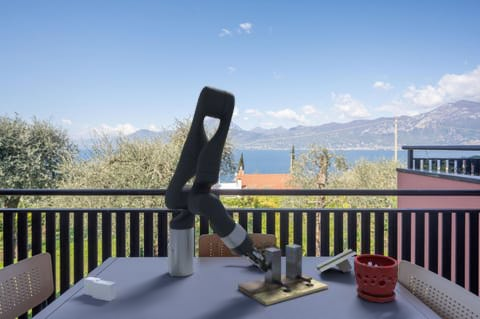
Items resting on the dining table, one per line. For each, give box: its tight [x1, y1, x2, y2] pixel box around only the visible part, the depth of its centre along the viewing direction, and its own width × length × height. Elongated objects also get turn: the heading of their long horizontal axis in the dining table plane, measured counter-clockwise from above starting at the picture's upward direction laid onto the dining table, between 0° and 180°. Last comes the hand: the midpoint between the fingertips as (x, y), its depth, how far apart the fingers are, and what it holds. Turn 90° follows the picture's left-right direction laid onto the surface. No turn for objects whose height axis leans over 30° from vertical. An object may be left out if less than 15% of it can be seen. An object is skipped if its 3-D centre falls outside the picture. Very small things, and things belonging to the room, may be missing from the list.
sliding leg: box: [264, 248, 290, 289], centre depth 117 cm, size 4×10×11 cm, turn 33°
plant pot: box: [353, 253, 399, 303], centre depth 111 cm, size 13×13×12 cm
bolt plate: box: [252, 278, 329, 307], centre depth 114 cm, size 26×7×1 cm, turn 123°
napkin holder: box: [83, 276, 116, 302], centre depth 111 cm, size 15×11×6 cm
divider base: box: [237, 243, 313, 298], centre depth 119 cm, size 26×12×12 cm, turn 123°
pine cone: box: [229, 240, 282, 267], centre depth 144 cm, size 22×10×10 cm, turn 80°
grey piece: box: [316, 248, 358, 273], centre depth 135 cm, size 16×9×15 cm
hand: (266, 269), depth 119 cm, fingers closed
